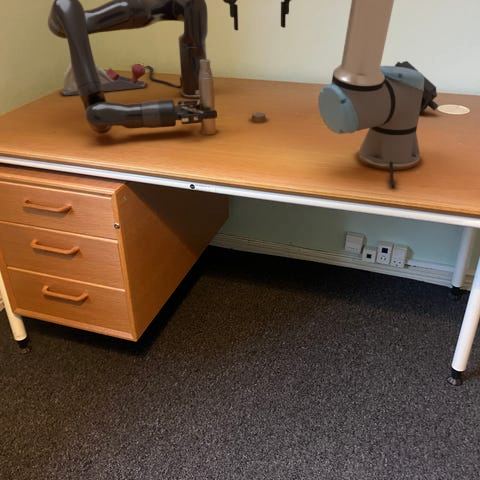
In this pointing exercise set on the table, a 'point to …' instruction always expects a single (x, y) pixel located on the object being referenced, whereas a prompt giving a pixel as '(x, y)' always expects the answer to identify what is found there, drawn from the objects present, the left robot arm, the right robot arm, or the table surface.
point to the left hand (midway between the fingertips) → (215, 109)
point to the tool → (428, 89)
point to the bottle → (206, 95)
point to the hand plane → (107, 80)
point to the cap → (258, 117)
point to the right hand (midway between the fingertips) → (259, 28)
